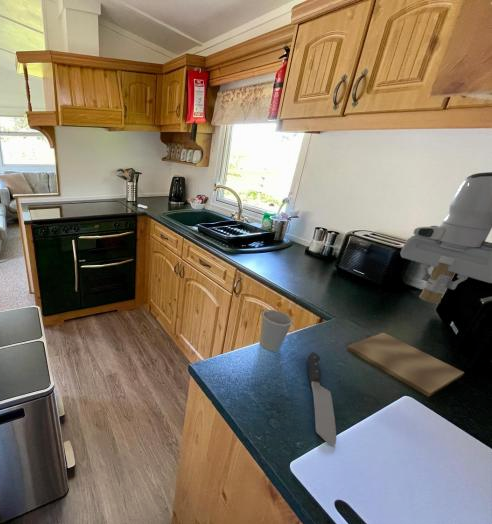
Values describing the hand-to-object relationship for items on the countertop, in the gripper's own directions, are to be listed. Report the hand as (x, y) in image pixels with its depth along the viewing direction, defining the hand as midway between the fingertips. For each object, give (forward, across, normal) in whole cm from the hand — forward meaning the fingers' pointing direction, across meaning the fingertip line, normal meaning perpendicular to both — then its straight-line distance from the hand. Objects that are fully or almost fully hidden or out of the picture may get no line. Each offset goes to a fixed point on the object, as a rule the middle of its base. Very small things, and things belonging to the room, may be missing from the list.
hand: (436, 284), depth 80 cm
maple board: (+23, -2, +6) cm, 24 cm away
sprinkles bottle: (+5, 0, 0) cm, 5 cm away
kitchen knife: (+24, -2, +42) cm, 48 cm away
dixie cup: (+24, +17, +38) cm, 48 cm away
